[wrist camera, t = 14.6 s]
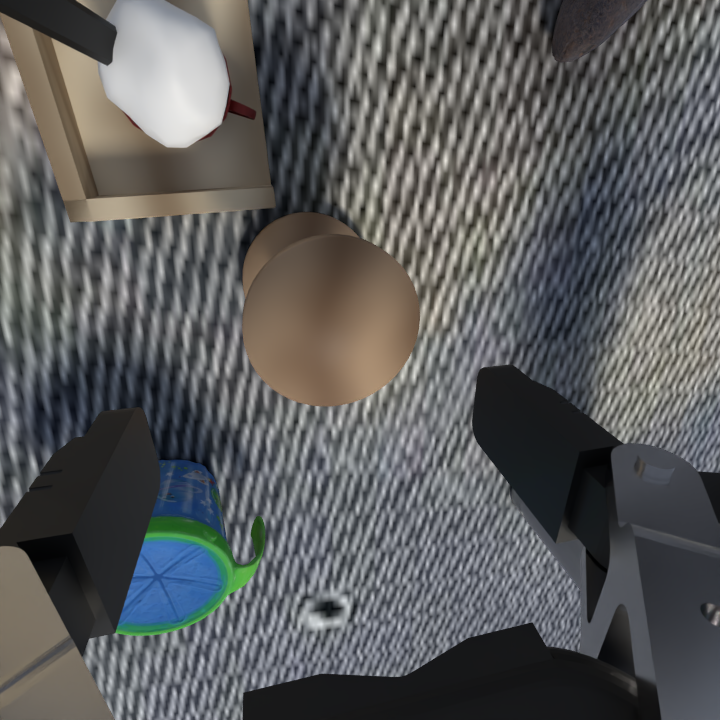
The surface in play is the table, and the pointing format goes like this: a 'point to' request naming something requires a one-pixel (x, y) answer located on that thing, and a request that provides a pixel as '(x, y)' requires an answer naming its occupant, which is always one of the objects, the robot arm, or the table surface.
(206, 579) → the snack cup
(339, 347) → the tan spool shaped stand
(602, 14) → the perforated stone tool
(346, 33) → the table surface
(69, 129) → the shallow rimmed tray
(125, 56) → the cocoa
